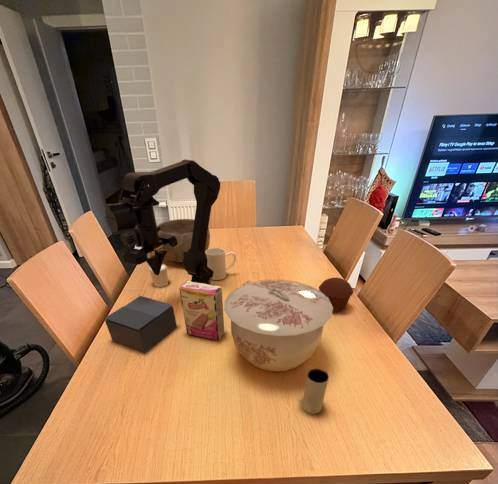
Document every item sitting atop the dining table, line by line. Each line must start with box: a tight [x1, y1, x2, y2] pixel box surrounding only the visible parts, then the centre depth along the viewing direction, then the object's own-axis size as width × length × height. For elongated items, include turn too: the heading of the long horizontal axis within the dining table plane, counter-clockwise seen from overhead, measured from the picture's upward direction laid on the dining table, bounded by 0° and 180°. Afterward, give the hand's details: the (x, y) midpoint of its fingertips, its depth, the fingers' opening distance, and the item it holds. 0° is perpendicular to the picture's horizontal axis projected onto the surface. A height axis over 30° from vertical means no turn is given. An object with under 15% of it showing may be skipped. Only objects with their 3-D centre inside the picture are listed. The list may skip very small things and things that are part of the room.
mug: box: [205, 247, 237, 281], centre depth 123 cm, size 12×8×10 cm, turn 98°
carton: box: [103, 306, 178, 354], centre depth 92 cm, size 15×13×8 cm
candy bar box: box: [178, 280, 225, 342], centre depth 89 cm, size 11×5×16 cm, turn 71°
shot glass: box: [148, 263, 169, 288], centre depth 118 cm, size 7×7×7 cm
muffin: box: [318, 277, 354, 314], centre depth 103 cm, size 12×11×10 cm
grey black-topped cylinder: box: [301, 368, 330, 415], centre depth 68 cm, size 4×4×10 cm
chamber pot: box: [223, 279, 333, 372], centre depth 80 cm, size 28×28×21 cm
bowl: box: [157, 218, 211, 263], centre depth 135 cm, size 24×24×15 cm
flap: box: [123, 295, 173, 318], centre depth 92 cm, size 7×13×1 cm, turn 63°
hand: (157, 274), depth 97 cm, fingers closed
